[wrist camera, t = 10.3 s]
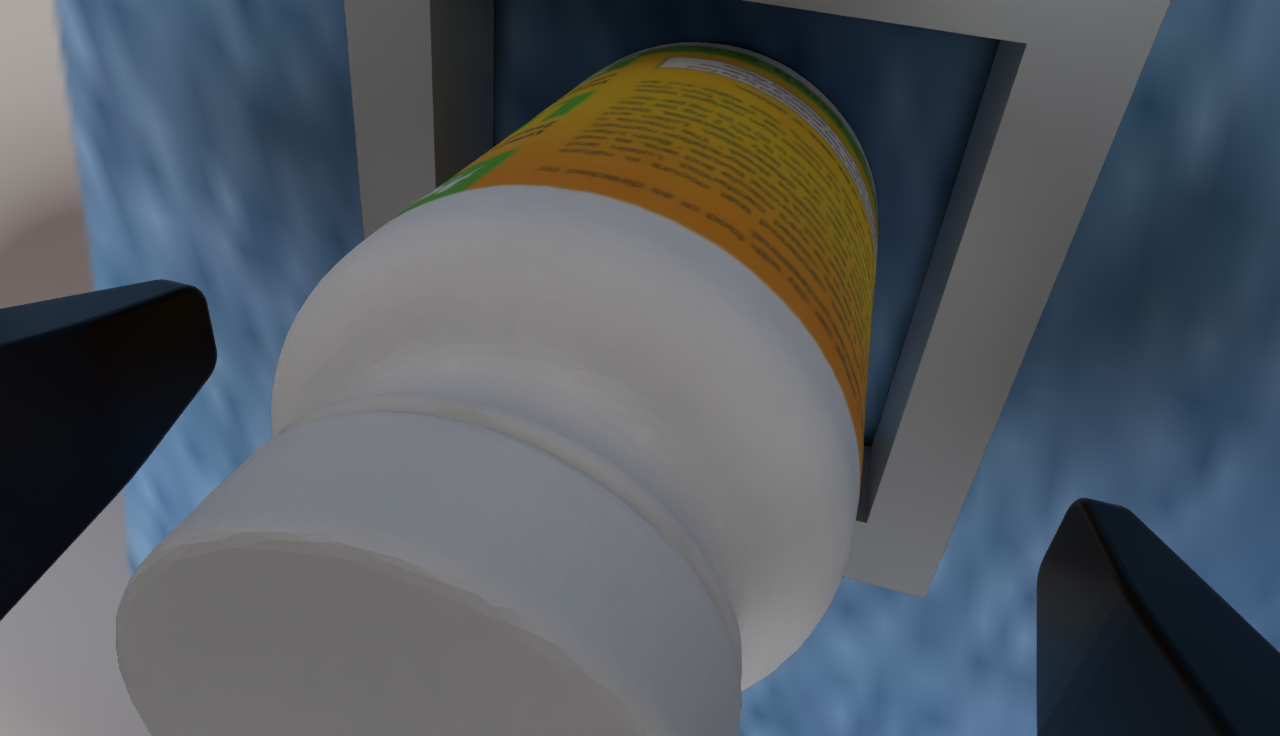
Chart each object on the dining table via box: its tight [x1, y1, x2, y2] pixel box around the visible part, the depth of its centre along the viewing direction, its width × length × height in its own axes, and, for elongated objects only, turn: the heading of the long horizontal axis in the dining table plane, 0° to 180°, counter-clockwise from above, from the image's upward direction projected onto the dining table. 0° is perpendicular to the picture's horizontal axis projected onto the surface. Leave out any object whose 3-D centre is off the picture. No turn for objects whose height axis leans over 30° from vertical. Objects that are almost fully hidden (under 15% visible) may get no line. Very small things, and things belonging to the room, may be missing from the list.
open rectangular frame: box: [344, 0, 1171, 598], centre depth 12 cm, size 9×9×2 cm
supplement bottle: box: [116, 42, 878, 736], centre depth 9 cm, size 5×5×10 cm
